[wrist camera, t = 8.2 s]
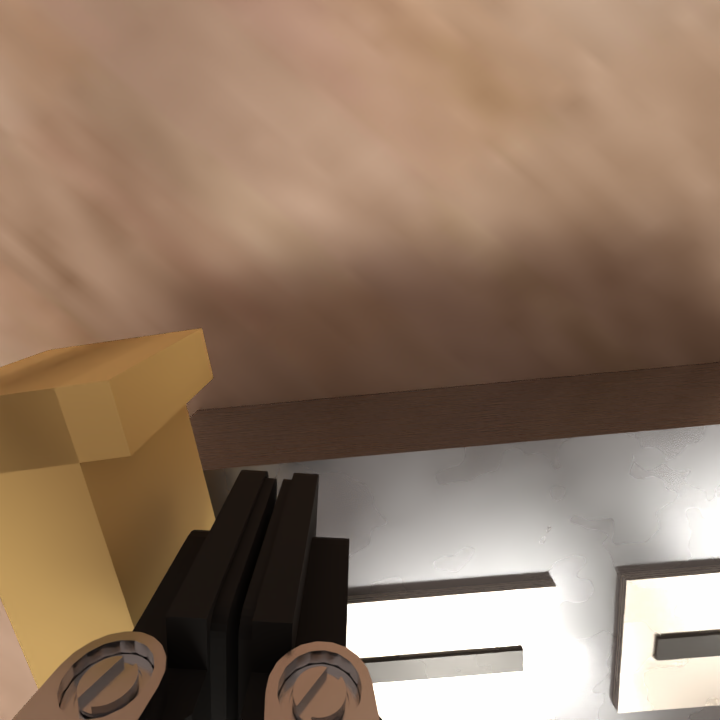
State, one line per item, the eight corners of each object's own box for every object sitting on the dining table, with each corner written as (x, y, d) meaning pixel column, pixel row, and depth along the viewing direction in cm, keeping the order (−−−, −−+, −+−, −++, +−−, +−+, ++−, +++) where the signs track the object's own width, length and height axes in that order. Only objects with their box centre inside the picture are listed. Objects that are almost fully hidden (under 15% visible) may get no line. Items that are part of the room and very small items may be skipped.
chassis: (780, 357, 17) (971, 409, 12) (731, 690, 21) (856, 840, 16) (197, 410, 17) (127, 484, 12) (260, 727, 21) (228, 885, 16)
